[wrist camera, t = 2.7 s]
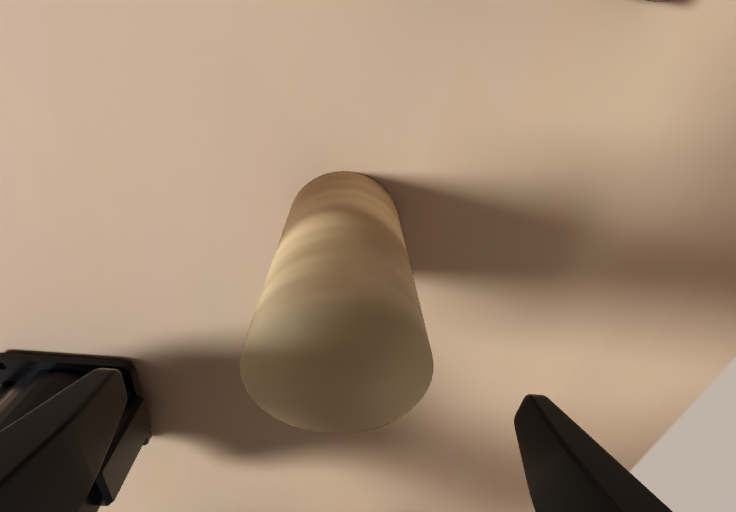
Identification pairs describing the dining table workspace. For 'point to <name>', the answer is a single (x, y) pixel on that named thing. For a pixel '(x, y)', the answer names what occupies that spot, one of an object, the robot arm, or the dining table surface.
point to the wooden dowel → (338, 314)
